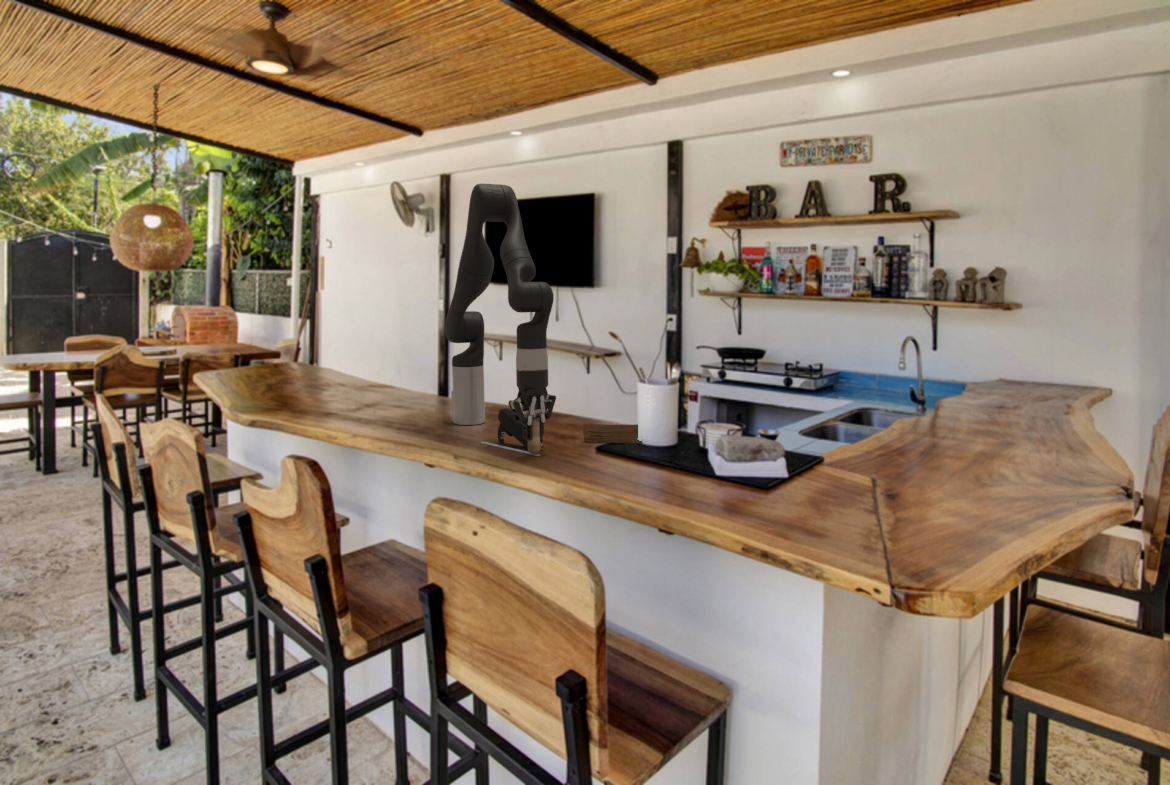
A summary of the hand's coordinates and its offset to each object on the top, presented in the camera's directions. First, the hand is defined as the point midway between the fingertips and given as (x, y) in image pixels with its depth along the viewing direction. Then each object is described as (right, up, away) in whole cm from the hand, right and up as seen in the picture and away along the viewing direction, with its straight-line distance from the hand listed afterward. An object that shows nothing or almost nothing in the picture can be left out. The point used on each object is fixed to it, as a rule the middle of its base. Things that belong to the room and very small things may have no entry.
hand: (533, 438), depth 165 cm
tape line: (-7, -3, +7) cm, 10 cm away
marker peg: (0, -3, 0) cm, 3 cm away
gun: (-4, -3, +9) cm, 11 cm away
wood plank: (+20, -2, +13) cm, 24 cm away
